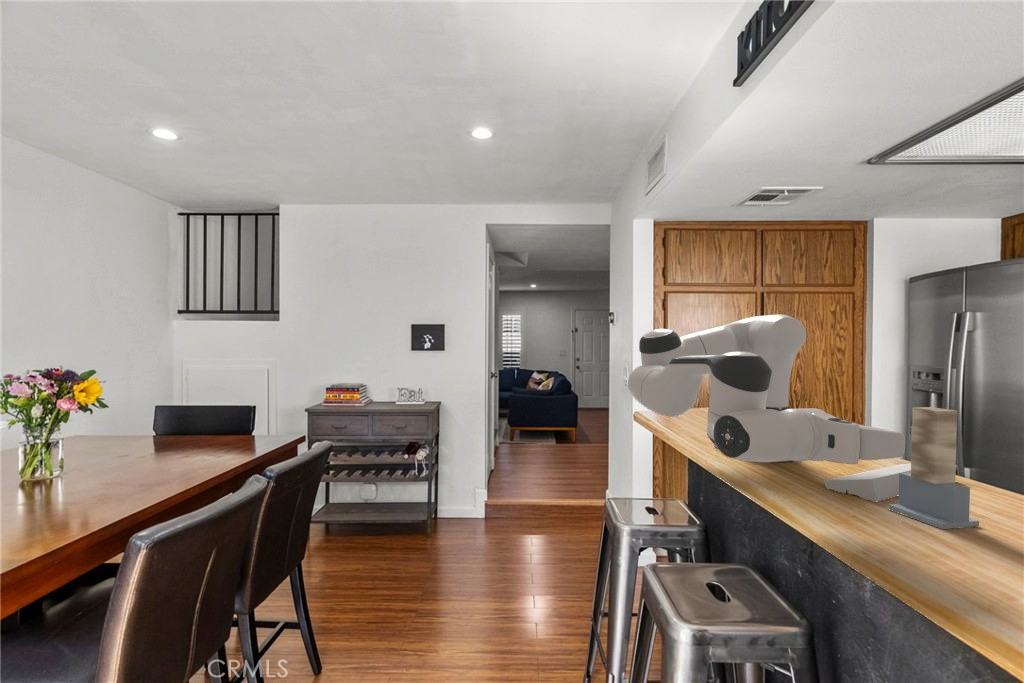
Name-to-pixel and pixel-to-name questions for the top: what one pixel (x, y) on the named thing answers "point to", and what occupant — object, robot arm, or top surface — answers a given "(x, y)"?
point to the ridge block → (934, 502)
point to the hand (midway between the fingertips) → (875, 432)
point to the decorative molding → (870, 483)
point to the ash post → (934, 444)
